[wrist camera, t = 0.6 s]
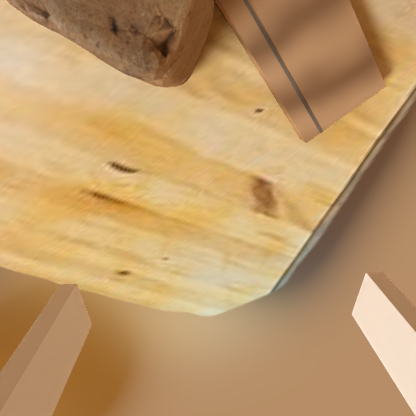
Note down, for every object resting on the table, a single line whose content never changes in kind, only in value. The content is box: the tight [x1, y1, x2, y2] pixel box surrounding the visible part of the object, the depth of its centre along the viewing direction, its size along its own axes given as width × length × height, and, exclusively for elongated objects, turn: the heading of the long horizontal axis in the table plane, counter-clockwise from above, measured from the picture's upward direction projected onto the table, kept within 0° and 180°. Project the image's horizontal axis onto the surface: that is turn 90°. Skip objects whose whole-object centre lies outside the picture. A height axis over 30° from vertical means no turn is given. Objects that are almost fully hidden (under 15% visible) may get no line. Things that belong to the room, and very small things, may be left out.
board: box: [215, 0, 386, 143], centre depth 26 cm, size 24×10×2 cm, turn 39°
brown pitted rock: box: [7, 0, 214, 87], centre depth 18 cm, size 11×8×20 cm
